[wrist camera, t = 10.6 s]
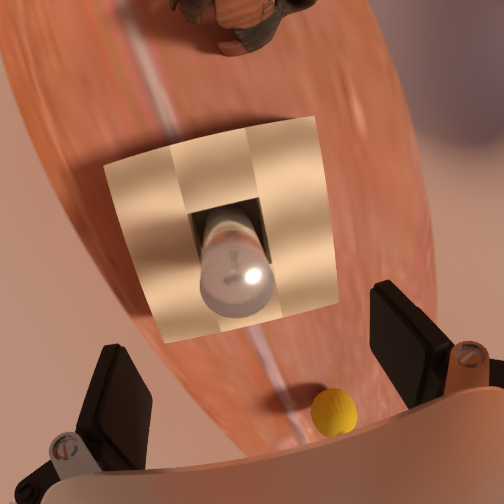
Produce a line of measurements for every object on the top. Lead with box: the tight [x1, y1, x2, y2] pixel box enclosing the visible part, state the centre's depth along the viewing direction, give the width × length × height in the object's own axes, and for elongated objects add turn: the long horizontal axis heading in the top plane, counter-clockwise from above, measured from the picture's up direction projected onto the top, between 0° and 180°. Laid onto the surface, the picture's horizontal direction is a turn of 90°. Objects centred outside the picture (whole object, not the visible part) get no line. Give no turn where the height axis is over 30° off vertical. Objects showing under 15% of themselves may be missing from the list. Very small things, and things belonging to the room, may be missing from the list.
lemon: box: [311, 389, 357, 438], centre depth 35 cm, size 6×6×8 cm
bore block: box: [103, 116, 339, 343], centre depth 27 cm, size 16×16×5 cm
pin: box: [200, 203, 275, 318], centre depth 23 cm, size 4×4×12 cm
